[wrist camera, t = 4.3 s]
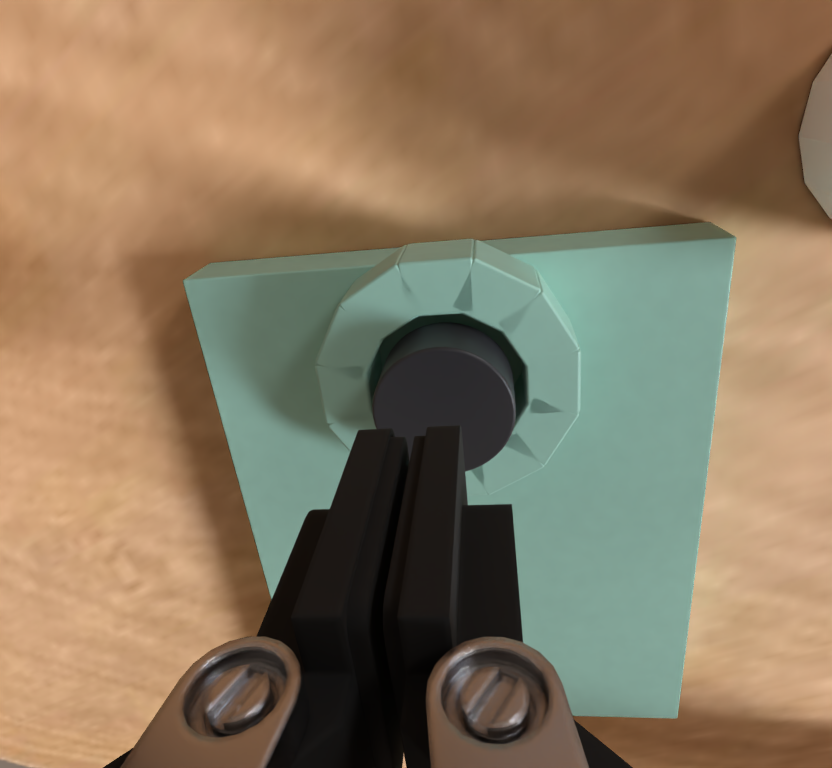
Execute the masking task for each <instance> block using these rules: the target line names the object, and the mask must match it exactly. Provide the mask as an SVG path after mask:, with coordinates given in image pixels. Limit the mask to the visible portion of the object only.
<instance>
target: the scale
mask: <svg viewBox="0 0 832 768" xmlns="http://www.w3.org/2000/svg"><path fill="white" fill-rule="evenodd" d="M735 245H736V237H735V236H733V235H732V234H730V233H728V232H727V231H725V230H723V229H722V228H720V227H718V226H716V225H715V224H713V223H711V222H704V223H691V224H679V225H667V226H655V227H643V228H630V229H618V230H606V231H594V232H582V233H569V234H557V235H545V236H533V237H521V238H508V239H496V240H484V241H479V240H474V239H460V240H448V241H436V242H424V243H412V244H408V245H407V246H406V245H404V246H402V247H399V248H386V249H374V250H362V251H350V252H338V253H325V254H313V255H301V256H289V257H277V258H264V259H252V260H240V261H228V262H216V263H209V264H208V265H206V266H205V267H203V268H202V269H200V270H198V271H197V272H195V273H194V274H192V275H190V276H189V277H187V278H186V279H184V280H183V284H184V288H185V291H186V295H187V299H188V302H189V306H190V309H191V313H192V316H193V320H194V324H195V327H196V331H197V334H198V338H199V342H200V345H201V349H202V352H203V356H204V360H205V363H206V367H207V370H208V374H209V378H210V381H211V385H212V388H213V392H214V396H215V399H216V403H217V406H218V410H219V414H220V417H221V421H222V424H223V428H224V432H225V435H226V439H227V442H228V446H229V450H230V453H231V457H232V460H233V464H234V468H235V471H236V475H237V478H238V482H239V486H240V489H241V493H242V496H243V500H244V504H245V507H246V511H247V514H248V518H249V521H250V525H251V529H252V532H253V536H254V539H255V543H256V547H257V550H258V554H259V557H260V561H261V565H262V568H263V572H264V575H265V579H266V583H267V586H268V590H269V593H270V597H271V600H272V598H273V595H274V593H275V590H276V588H277V585H278V583H279V581H280V578H281V576H282V573H283V571H284V568H285V566H286V563H287V561H288V559H289V556H290V554H291V551H292V549H293V546H294V544H295V542H296V539H297V537H298V534H299V532H300V529H301V527H302V524H303V522H304V520H305V517H306V516H307V514H308V512H309V511H311V510H313V509H330V507H331V504H332V501H333V498H334V496H335V493H336V490H337V487H338V485H339V482H340V479H341V476H342V473H343V471H344V468H345V465H346V462H347V460H348V457H349V454H350V451H351V448H352V446H353V443H354V440H355V437H356V435H357V432H358V430H365V429H376V427H375V424H374V419H373V413H372V403H373V396H374V392H375V389H376V386H377V383H378V381H379V378H380V375H381V372H382V370H383V367H384V364H385V362H386V359H387V357H388V355H389V353H390V351H391V350H392V348H393V347H394V346H395V344H396V343H397V342H398V341H399V340H400V339H401V338H402V337H404V336H405V335H406V334H408V333H409V332H411V331H413V330H415V329H417V328H419V327H422V326H424V325H428V324H432V323H439V322H453V323H460V324H464V325H468V326H471V327H473V328H476V329H478V330H480V331H482V332H483V333H485V334H486V335H488V336H489V337H491V338H492V339H493V340H494V341H495V342H496V343H497V344H498V345H499V346H500V348H501V349H502V350H503V352H504V353H505V355H506V356H507V358H508V361H509V363H510V366H511V369H512V374H513V383H514V393H515V403H516V420H515V426H514V429H513V432H512V435H511V436H510V438H509V440H508V442H507V443H506V445H505V446H504V448H503V449H502V450H501V451H500V452H499V453H498V454H497V455H496V456H495V457H494V458H492V459H491V460H490V461H488V462H487V463H485V464H483V465H482V466H479V467H477V468H475V469H472V470H469V471H466V472H465V476H466V488H467V500H468V505H494V504H512V511H513V523H514V535H515V548H516V560H517V573H518V585H519V597H520V610H521V622H522V635H523V643H525V644H527V645H528V646H530V647H532V648H534V649H535V650H537V651H539V652H540V653H541V654H542V655H543V656H544V657H545V658H546V659H547V660H548V661H549V662H550V663H551V664H552V665H553V666H554V668H555V670H556V672H557V674H558V676H559V678H560V680H561V682H562V684H563V687H564V690H565V693H566V696H567V700H568V703H569V706H570V709H571V712H572V715H573V716H598V717H638V718H677V717H678V709H679V701H680V693H681V685H682V676H683V668H684V660H685V652H686V644H687V636H688V627H689V619H690V611H691V603H692V595H693V587H694V579H695V570H696V562H697V554H698V546H699V538H700V530H701V522H702V513H703V505H704V497H705V489H706V481H707V473H708V465H709V456H710V448H711V440H712V432H713V424H714V416H715V408H716V399H717V391H718V383H719V375H720V367H721V359H722V351H723V342H724V334H725V326H726V318H727V310H728V302H729V294H730V285H731V277H732V269H733V261H734V253H735Z"/></svg>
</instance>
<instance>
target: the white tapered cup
mask: <svg viewBox="0 0 832 768" xmlns="http://www.w3.org/2000/svg"><path fill="white" fill-rule="evenodd" d="M799 144H800V151H801V158H802V166H803V173H804V181H805V184H806V186H807V187H808V188H809V190H810V191H811V193H812V194H813V195H814V197H815V198H816V200H817V201H818V202H819V204H820V205H821V207H822V208H823V209H824V211H825V212H826V214H827V215H828V217H829V218H830V219H832V54H831V55H830V57H829V58H828V60H827V61H826V63H825V65H824V66H823V68H822V69H821V71H820V72H819V74H818V75H817V77H816V78H815V80H814V81H813V84H812V87H811V91H810V95H809V99H808V102H807V106H806V110H805V114H804V117H803V121H802V125H801V129H800V132H799Z"/></svg>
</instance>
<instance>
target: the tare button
mask: <svg viewBox="0 0 832 768" xmlns="http://www.w3.org/2000/svg"><path fill="white" fill-rule="evenodd" d="M372 413H373V419H374V424H375V427H376V429H388V428H392V429H393V431H394V434H395V437H403V436H405V437H406V440H407V446H408V454H409V461H410V457H411V452H412V446H413V441H414V437H415V436H426V430H427V427H432V426H455V425H461V430H462V439H463V452H464V464H465V472H466V471H469V470H472V469H475V468H477V467H479V466H482V465H483V464H485V463H487V462H488V461H490V460H491V459H492V458H494V457H495V456H496V455H497V454H498V453H499V452H500V451H501V450H502V449H503V448H504V446H505V445H506V443H507V442H508V440H509V438H510V436H511V435H512V432H513V429H514V426H515V420H516V403H515V393H514V383H513V374H512V369H511V366H510V363H509V361H508V358H507V356H506V355H505V353H504V352H503V350H502V349H501V348H500V346H499V345H498V344H497V343H496V342H495V341H494V340H493V339H492V338H491V337H489V336H488V335H486V334H485V333H483V332H482V331H480V330H478V329H476V328H473V327H471V326H468V325H464V324H460V323H453V322H439V323H432V324H428V325H424V326H422V327H419V328H417V329H415V330H413V331H411V332H409V333H408V334H406V335H405V336H404V337H402V338H401V339H400V340H399V341H398V342H397V343H396V344H395V346H394V347H393V348H392V350H391V351H390V353H389V355H388V357H387V359H386V362H385V364H384V367H383V370H382V372H381V375H380V378H379V381H378V383H377V386H376V389H375V392H374V396H373V403H372Z"/></svg>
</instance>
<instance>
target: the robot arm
mask: <svg viewBox="0 0 832 768" xmlns="http://www.w3.org/2000/svg"><path fill="white" fill-rule="evenodd" d="M403 754H404V755H405V761H406V766H407V768H633V767H631V766H630V765H629V764H628V763H626V762H625V761H624V760H623V759H621V758H620V757H619V756H618V755H617V754H615V753H614V752H613V751H612V750H610V749H609V748H608V747H607V746H606V745H604V744H603V743H602V742H601V741H599V740H598V739H597V738H596V737H594V736H593V735H592V734H591V733H590V732H588V731H587V730H586V729H585V728H583V727H582V726H581V725H580V724H579V723H577V722H576V721H575V720H574V719H573V715H572V712H571V709H570V706H569V703H568V700H567V696H566V693H565V690H564V687H563V684H562V682H561V680H560V678H559V676H558V674H557V672H556V670H555V668H554V666H553V665H552V664H551V663H550V662H549V661H548V660H547V659H546V658H545V657H544V656H543V655H542V654H541V653H540V652H539V651H537V650H535V649H534V648H532V647H530V646H528V645H527V644H525V643H523V635H522V622H521V610H520V597H519V585H518V573H517V560H516V548H515V535H514V523H513V511H512V504H494V505H468V500H467V488H466V476H465V464H464V452H463V439H462V430H461V425H455V426H432V427H427V430H426V436H415V437H414V441H413V446H412V452H411V457H410V461H409V454H408V446H407V440H406V437H405V436H403V437H395V434H394V431H393V429H392V428H388V429H365V430H358V432H357V435H356V437H355V440H354V443H353V446H352V448H351V451H350V454H349V457H348V460H347V462H346V465H345V468H344V471H343V473H342V476H341V479H340V482H339V485H338V487H337V490H336V493H335V496H334V498H333V501H332V504H331V507H330V509H313V510H311V511H309V512H308V514H307V516H306V517H305V520H304V522H303V524H302V527H301V529H300V532H299V534H298V537H297V539H296V542H295V544H294V546H293V549H292V551H291V554H290V556H289V559H288V561H287V563H286V566H285V568H284V571H283V573H282V576H281V578H280V581H279V583H278V585H277V588H276V590H275V593H274V595H273V598H272V600H271V603H270V605H269V607H268V610H267V612H266V615H265V617H264V620H263V622H262V624H261V627H260V629H259V632H258V634H257V637H245V638H241V639H237V640H233V641H229V642H227V643H225V644H223V645H221V646H219V647H216V648H214V649H212V650H210V651H209V652H208V653H206V654H205V655H204V656H202V657H201V658H200V659H199V660H197V661H196V662H195V663H193V664H192V666H191V667H190V668H189V669H188V670H187V671H186V673H185V674H184V675H183V676H182V677H181V678H180V680H179V681H178V683H177V684H176V686H175V687H174V689H173V690H172V691H171V693H170V694H169V696H168V697H167V699H166V700H165V702H164V703H163V705H162V706H161V708H160V709H159V711H158V712H157V714H156V715H155V717H154V718H153V720H152V721H151V723H150V724H149V726H148V727H147V729H146V730H145V732H144V733H143V734H142V736H141V737H140V739H139V740H138V742H137V743H136V745H135V746H134V748H132V749H131V750H129V751H128V752H126V753H125V754H123V755H122V756H120V757H119V758H117V759H116V760H114V761H112V762H111V763H109V764H108V765H106V766H105V767H103V768H402V763H403Z"/></svg>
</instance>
